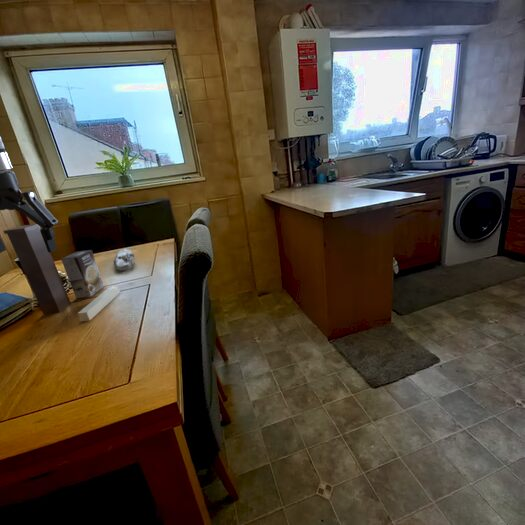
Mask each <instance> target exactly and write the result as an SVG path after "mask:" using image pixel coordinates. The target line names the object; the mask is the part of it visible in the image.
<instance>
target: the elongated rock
mask: <svg viewBox="0 0 525 525" xmlns="http://www.w3.org/2000/svg"><path fill="white" fill-rule="evenodd" d="M113 265H114V267H115V268H116V270H117V271H126V270H129V269H132V267H133V266H134V265H135V254H134V252H133V250H131V248H124V249H121V250H119V251H117V253H116V255H115V258H114V259H113Z"/></svg>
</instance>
